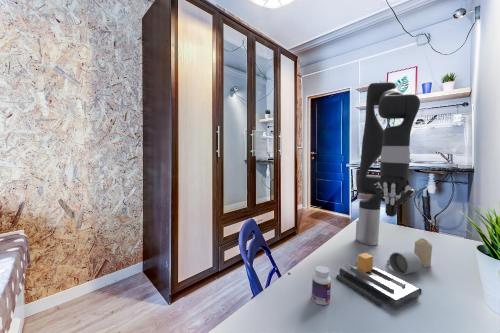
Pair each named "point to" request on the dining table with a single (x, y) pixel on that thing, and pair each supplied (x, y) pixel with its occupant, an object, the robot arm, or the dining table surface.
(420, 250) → the candle
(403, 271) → the ceramic mug
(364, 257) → the lever
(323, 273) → the pill bottle
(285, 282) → the dining table surface
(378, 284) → the panel
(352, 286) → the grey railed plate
